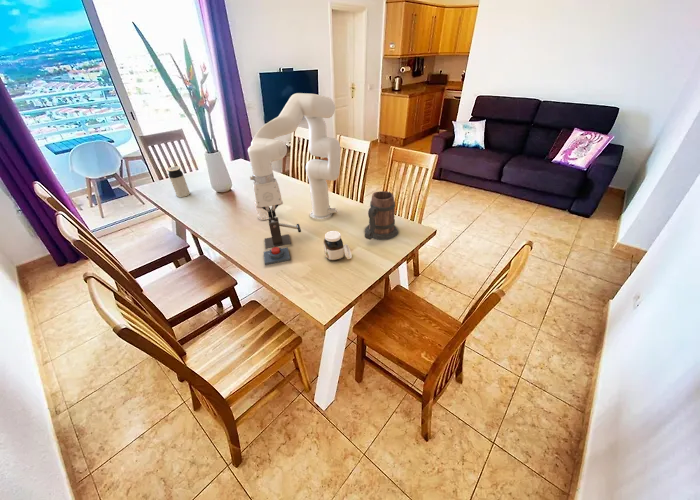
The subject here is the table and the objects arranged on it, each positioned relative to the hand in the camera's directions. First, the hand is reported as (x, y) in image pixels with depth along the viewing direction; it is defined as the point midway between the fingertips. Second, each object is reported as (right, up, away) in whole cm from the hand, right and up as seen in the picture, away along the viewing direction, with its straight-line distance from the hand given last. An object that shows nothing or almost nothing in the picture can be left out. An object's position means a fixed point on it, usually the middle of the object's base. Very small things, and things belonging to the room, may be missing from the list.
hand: (272, 218), depth 127 cm
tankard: (+48, -6, +23) cm, 53 cm away
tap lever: (+2, -3, +15) cm, 15 cm away
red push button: (0, -15, +6) cm, 16 cm away
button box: (0, -18, +8) cm, 19 cm away
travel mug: (-77, +23, +69) cm, 106 cm away
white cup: (-15, +5, +40) cm, 43 cm away
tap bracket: (-2, -10, +18) cm, 21 cm away
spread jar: (+28, -17, +8) cm, 34 cm away
